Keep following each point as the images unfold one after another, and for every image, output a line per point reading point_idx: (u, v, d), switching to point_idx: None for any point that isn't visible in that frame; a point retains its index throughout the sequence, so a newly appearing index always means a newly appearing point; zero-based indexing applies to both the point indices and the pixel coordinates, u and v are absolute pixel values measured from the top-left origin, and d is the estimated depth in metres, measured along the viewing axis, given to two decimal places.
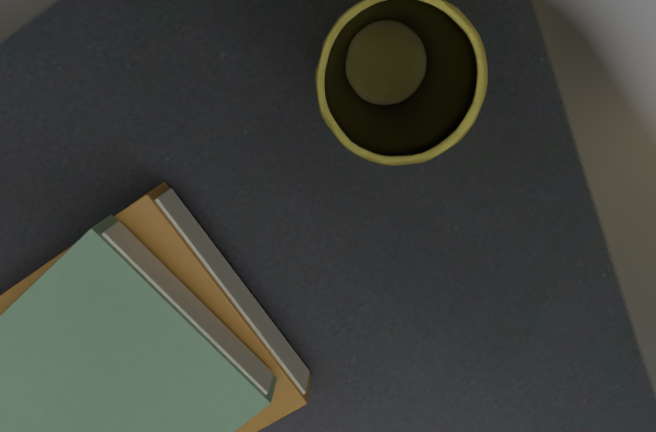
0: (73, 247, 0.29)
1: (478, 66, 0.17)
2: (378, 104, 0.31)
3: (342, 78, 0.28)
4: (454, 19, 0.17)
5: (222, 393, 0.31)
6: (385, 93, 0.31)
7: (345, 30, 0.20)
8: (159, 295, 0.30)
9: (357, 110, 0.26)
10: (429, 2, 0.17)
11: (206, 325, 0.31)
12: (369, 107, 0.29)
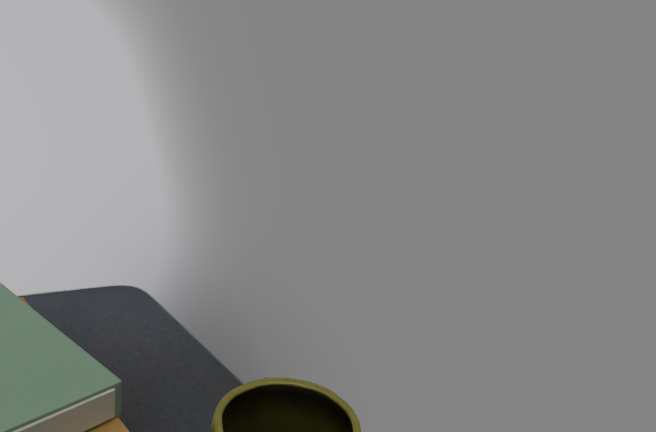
0: (107, 370, 0.36)
1: None
2: None
3: None
4: None
5: None
6: None
7: None
8: (43, 414, 0.32)
9: None
10: None
11: None
12: None
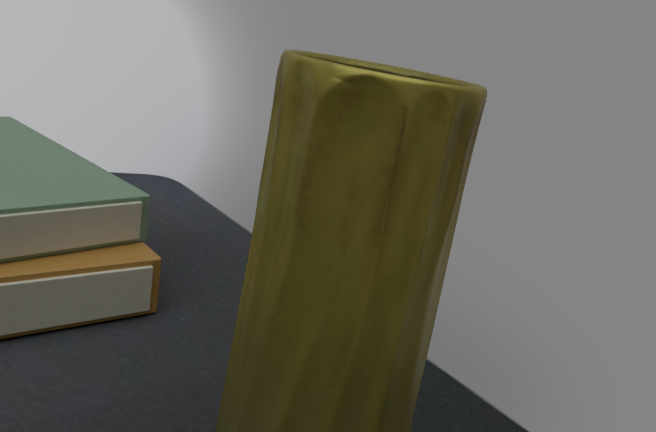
0: (134, 187, 0.31)
1: None
2: None
3: None
4: None
5: None
6: None
7: None
8: (56, 205, 0.27)
9: None
10: None
11: None
12: None
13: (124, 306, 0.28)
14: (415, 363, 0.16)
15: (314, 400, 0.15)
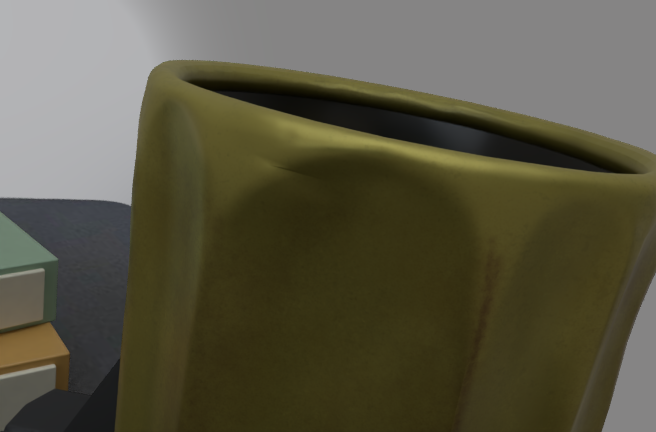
0: (38, 245, 0.22)
1: None
2: None
3: None
4: (651, 171, 0.05)
5: None
6: None
7: None
8: None
9: None
10: (647, 160, 0.06)
11: None
12: None
13: None
14: None
15: None
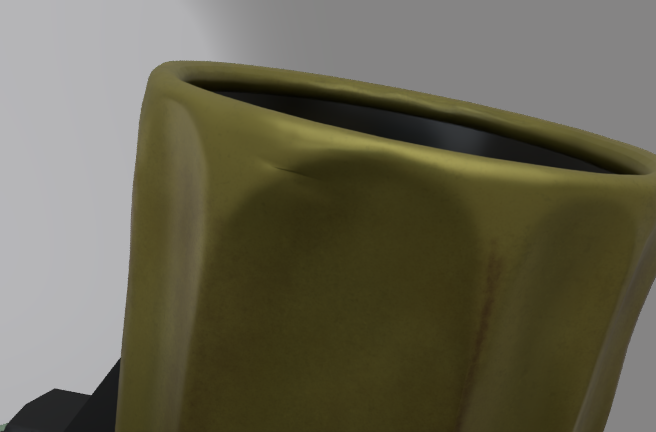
0: None
1: None
2: None
3: None
4: (652, 172, 0.05)
5: None
6: None
7: None
8: None
9: None
10: (648, 161, 0.06)
11: None
12: None
13: None
14: None
15: None
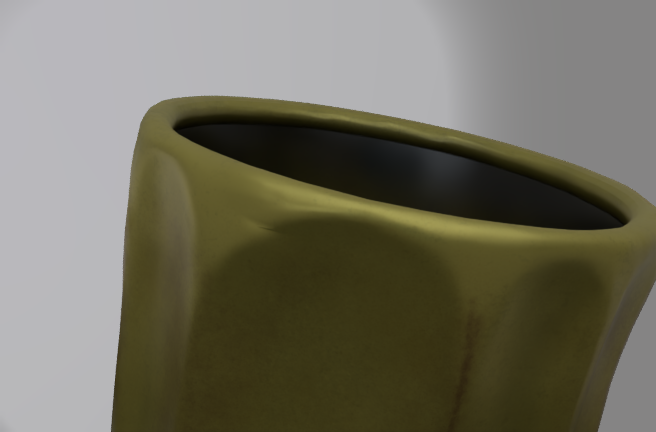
0: None
1: None
2: None
3: None
4: (632, 219, 0.05)
5: None
6: None
7: None
8: None
9: None
10: (631, 202, 0.06)
11: None
12: None
13: None
14: None
15: None
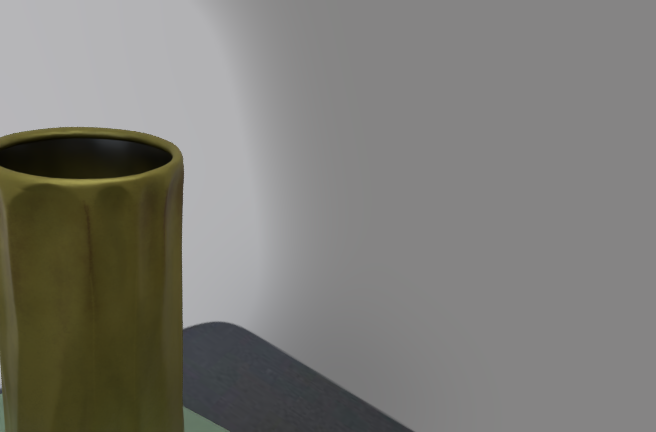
0: None
1: (100, 179, 0.14)
2: None
3: None
4: (155, 169, 0.16)
5: None
6: None
7: None
8: None
9: None
10: (170, 160, 0.16)
11: None
12: None
13: None
14: (164, 393, 0.18)
15: None
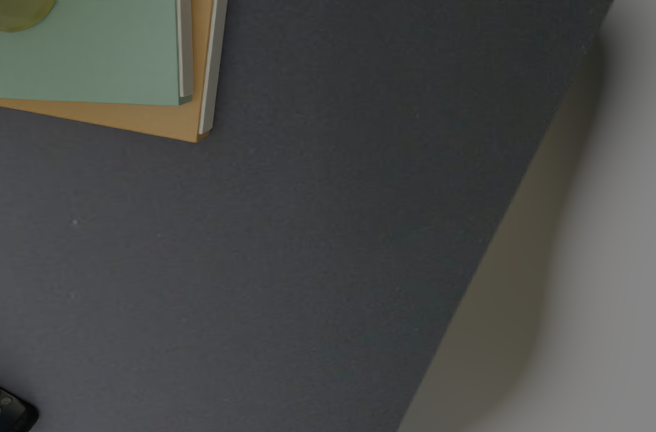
0: None
1: None
2: None
3: None
4: None
5: (146, 63, 0.30)
6: None
7: None
8: None
9: None
10: None
11: None
12: None
13: None
14: None
15: None
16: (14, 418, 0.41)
